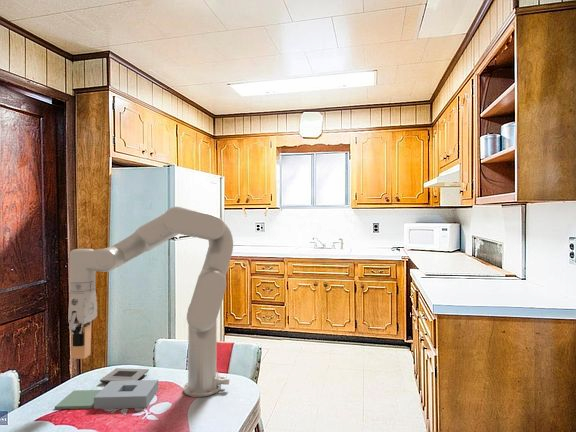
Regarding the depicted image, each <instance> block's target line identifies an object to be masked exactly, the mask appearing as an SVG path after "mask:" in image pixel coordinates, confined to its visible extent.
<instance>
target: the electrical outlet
mask: <svg viewBox="0 0 576 432" xmlns="http://www.w3.org/2000/svg"><path fill="white" fill-rule="evenodd" d="M149 371H150V369H148V368H146V369H145V368H124V367H123V368H118V367H117V368H115V369H113V370H111V372H108V374H106V375H105V376H103V377H102V378H100V379H99V382H101V383H109V382H110V381H131V380H141V378H142V377H144V375H146V374H147V373H148V372H149Z"/></svg>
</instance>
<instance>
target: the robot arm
mask: <svg viewBox="0 0 576 432" xmlns="http://www.w3.org/2000/svg"><path fill="white" fill-rule="evenodd" d="M178 235H183V236H187V237H192V238H198V239H203V240H206V241H208V248H207V251H206V255H205V258H204V259H205V260H204V262H203V265H202V269H201V270H200V272H199V275H198V277H197V281H196V284H195V287H194V290H193V293H192V298H191V301H190V303H189V306H188V307H187V313H186V321H187V326H188V330H187V331H188V333H187V335H188V336H187V337H188V341H187V342H188V344H187V351H188V353H187V354H188V355H187V357H188V358H187V369H188V370H187V372H188V374H187V375H188V376H187V383H186V384H184V385H183V393H184V394H185V395H187V396H189V397H193V398H202V397H208V396H211V395H214V394H216V393H218V392H219V391H220V390H221V388H222V385H226V386H227V385H228V386H229V385H230V377H229V378H228V377H227V376H225V375H224V376H223V375H222V376H220V375H219V372H218V371H217V341H218V340H217V339H218V337H217V335H218V333H217V319H218V316H219V313H220V311H221V310H220V309H221V306H222V303H223V299H224V296H225V293H226V289H227V274H228V269H229V267H230V263H231V258H232V256H233V250H234V239H233V235H232V231H231V229H230V227H228V225H227V224H226V223H225V222H224V220H223V219H222V218H221V217H220V216H219V215H216V214H212V213H208V212H202V211H197V210H193V209H188V208H185V207H182V206H172V207H170V208H168V209H167V210H166V211H165V212H164V213H163V214H161V215H159V216H158V217H155V218H153V219H152V220H150V221H148V222H146V223H144V224H143V225H140V226H139V227H138V228H137V229H136V230H135V231H134V232H133V233H132V234H130V235H129V236H127V237H125V238H124V239H122V240H121V241H119V242H117V243H115V244H113V245H111V246H109V247H105V248H100V249H99V248H98V249H93V248H75V249H71V251H70V252H69V268H68V270H69V274H68V275H69V277H68V279H69V284H68V285H69V287H68V288H69V289H68V293H70V294H69V301H68V309H67V310H68V315H67V316H68V318H67V319H68V324H69V326H68V329H70V330H71V334H73V346H83V345H84V333H83V324H91V329H92V328H93V324H92V323H93V322H94V321H93V320H95V319H96V318H97V317H98V301H97V293H96V292H97V291H96V288H97V287H96V283H97V281H96V277H97V272H101V273H106V272H111V271H113V270H115V269H117V268H119V267H121V266H122V265H123V266H124V264H126V263H128V262H129V261H131V260H133V259H135V258H137V257H139V256H141V255H142V254H144V253H146V252H148V251H151V250H153V249H154V248H157V247H158V246H160V245H162V244H163V243H165V242H167V241H168V240H171V239H172V238H174V237H176V236H178ZM78 322H79V323H78ZM77 326H80V329H79V327H77Z"/></svg>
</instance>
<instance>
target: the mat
mask: <svg viewBox="0 0 576 432" xmlns="http://www.w3.org/2000/svg"><path fill="white" fill-rule="evenodd" d="M101 390H102V389H85V390H84V389H83V390H80V389H79V390H72V391H71V392H70V393H69V394H68V395H66V396H65V397H64V398H63V399H62V400H61V401H59V402H58V403H57V404H55V406H54V410H71V409H72V410H75V409H79V410H80V409H93V408H94V397H95V396H96V395H97V394H98V393H99V392H100V391H101Z"/></svg>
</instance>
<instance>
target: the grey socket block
mask: <svg viewBox="0 0 576 432" xmlns="http://www.w3.org/2000/svg"><path fill="white" fill-rule="evenodd" d="M100 390H101V391H100V392H99V393H98V394H97V395H96V396H95V397H94V406H93V410H100V409H101V410H103V409H105V410H106V409H110V410H111V409H134V408H135V409H140V408H142V409H143V408H144V409H145V408H148V406H149V404H151V402H152V400H153V399H154V397H155V396H156V394H157V393H158V391H159V379H143V380H142V379H138V380H131V381H110V382H107V384H105V386H104V387H103V388H102V389H100Z"/></svg>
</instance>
